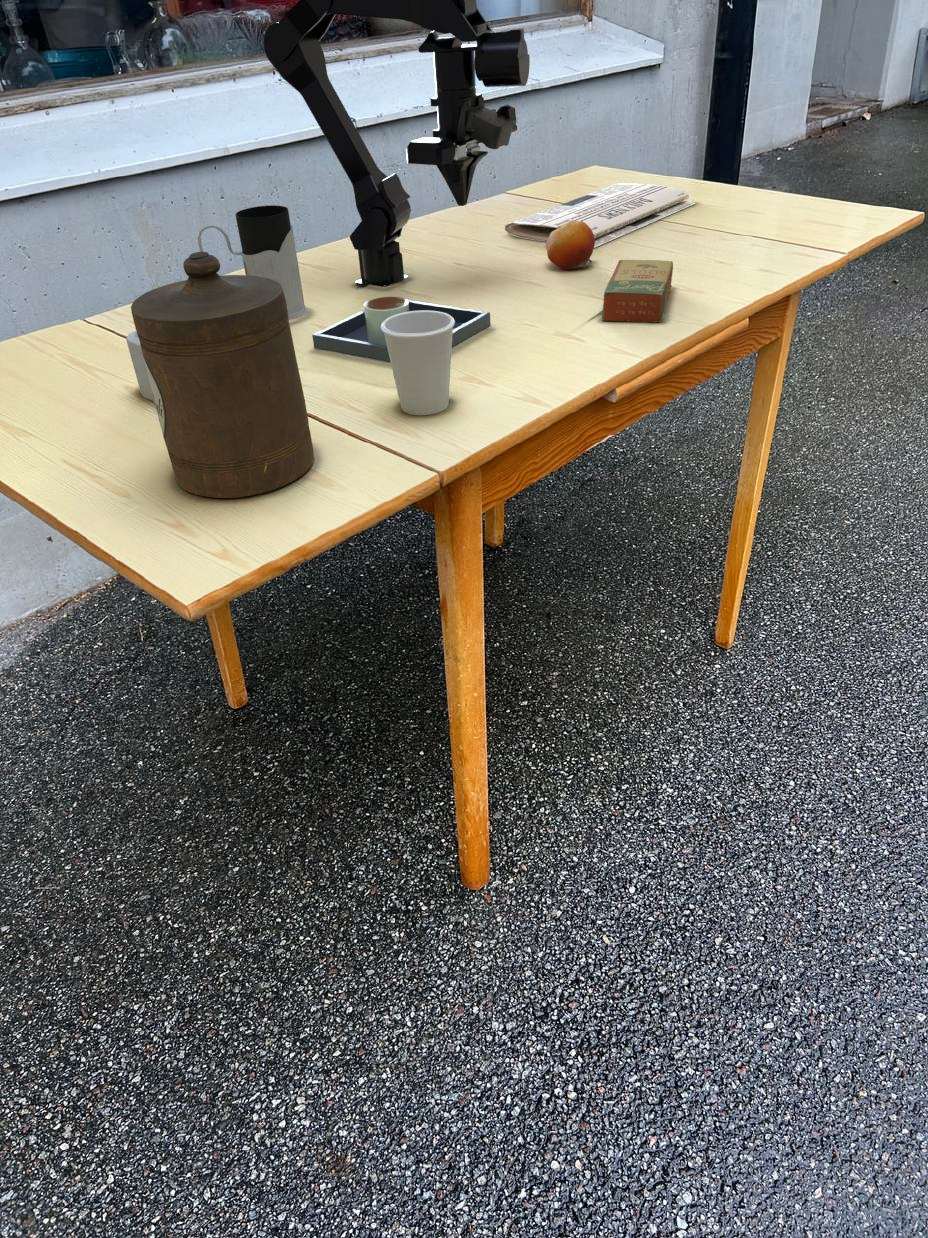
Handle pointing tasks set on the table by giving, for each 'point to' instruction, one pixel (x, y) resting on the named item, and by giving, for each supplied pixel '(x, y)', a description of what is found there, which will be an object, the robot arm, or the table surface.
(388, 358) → the tray
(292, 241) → the glass holder
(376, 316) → the teacup
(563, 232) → the fruit
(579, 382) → the table surface
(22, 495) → the table surface
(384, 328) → the dixie cup
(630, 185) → the newspaper
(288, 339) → the wooden container
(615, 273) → the carton
